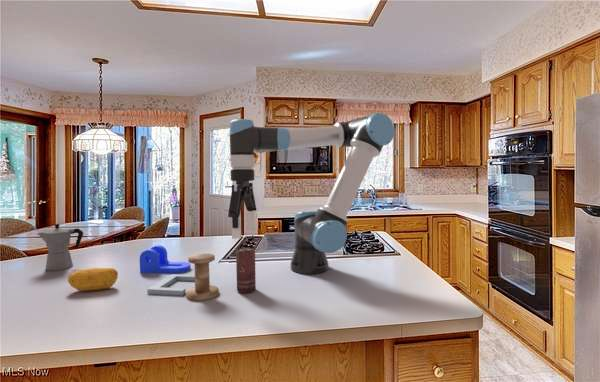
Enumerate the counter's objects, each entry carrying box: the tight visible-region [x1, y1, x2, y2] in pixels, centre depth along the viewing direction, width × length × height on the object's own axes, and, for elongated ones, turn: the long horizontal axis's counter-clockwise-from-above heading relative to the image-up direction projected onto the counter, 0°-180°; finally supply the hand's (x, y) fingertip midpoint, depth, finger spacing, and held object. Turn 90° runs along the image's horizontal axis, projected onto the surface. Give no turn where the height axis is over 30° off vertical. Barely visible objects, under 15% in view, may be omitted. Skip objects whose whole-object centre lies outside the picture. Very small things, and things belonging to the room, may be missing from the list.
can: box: [235, 246, 257, 294], centre depth 107 cm, size 6×6×14 cm
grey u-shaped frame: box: [146, 273, 195, 296], centre depth 111 cm, size 12×15×2 cm
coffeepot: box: [36, 223, 84, 272], centre depth 133 cm, size 15×9×18 cm, turn 113°
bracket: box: [139, 244, 191, 274], centre depth 130 cm, size 18×8×9 cm, turn 86°
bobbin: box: [185, 253, 220, 302], centre depth 104 cm, size 10×10×12 cm
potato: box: [67, 267, 119, 291], centre depth 109 cm, size 7×14×7 cm, turn 98°
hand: (243, 233), depth 106 cm, fingers open, 13 cm apart
